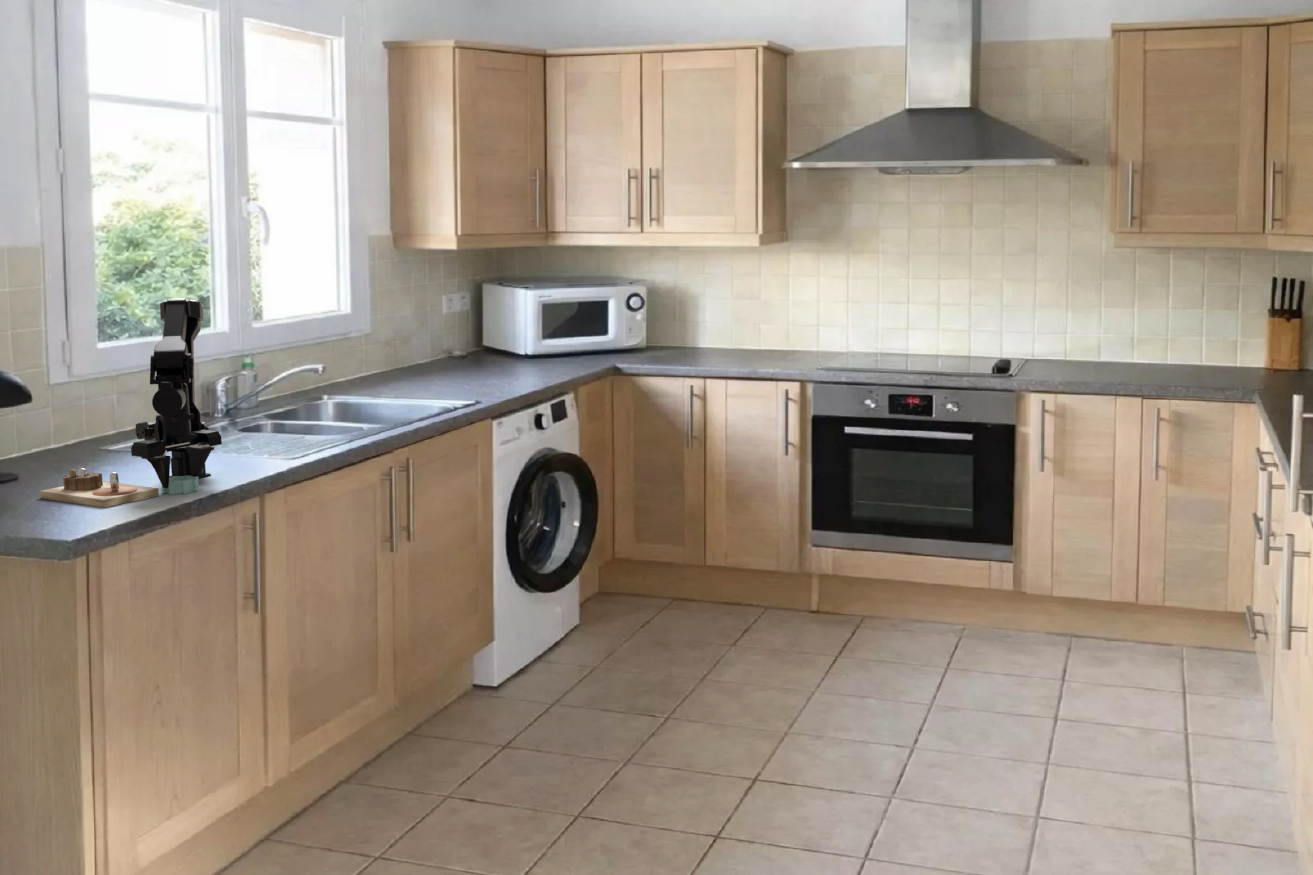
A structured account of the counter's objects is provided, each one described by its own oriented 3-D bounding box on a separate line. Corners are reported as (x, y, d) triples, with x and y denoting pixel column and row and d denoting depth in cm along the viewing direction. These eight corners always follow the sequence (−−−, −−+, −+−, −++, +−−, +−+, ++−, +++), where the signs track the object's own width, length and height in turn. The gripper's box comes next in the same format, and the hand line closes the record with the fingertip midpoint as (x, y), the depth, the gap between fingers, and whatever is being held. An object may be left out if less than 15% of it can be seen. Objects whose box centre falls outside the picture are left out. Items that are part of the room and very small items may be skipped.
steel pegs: (84, 486, 294) (82, 467, 293) (121, 491, 288) (119, 471, 287) (77, 487, 293) (76, 468, 292) (114, 492, 286) (112, 473, 286)
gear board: (95, 486, 301) (95, 478, 301) (158, 495, 291) (158, 487, 290) (40, 498, 290) (40, 489, 290) (104, 507, 280) (103, 498, 279)
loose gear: (183, 486, 300) (182, 474, 300) (206, 489, 296) (205, 477, 296) (155, 492, 294) (154, 480, 294) (178, 495, 290) (177, 483, 290)
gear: (87, 482, 298) (85, 463, 297) (109, 485, 294) (108, 466, 293) (57, 488, 292) (55, 469, 291) (79, 492, 288) (77, 472, 287)
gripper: (185, 401, 305) (190, 474, 307) (110, 413, 289) (116, 489, 291) (221, 404, 299) (226, 478, 301) (146, 416, 283) (152, 494, 286)
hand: (180, 484), depth 295 cm, fingers closed on loose gear, 7 cm apart
